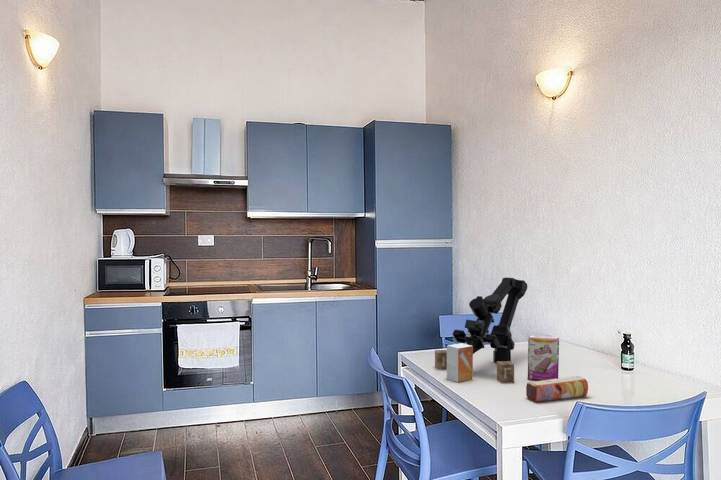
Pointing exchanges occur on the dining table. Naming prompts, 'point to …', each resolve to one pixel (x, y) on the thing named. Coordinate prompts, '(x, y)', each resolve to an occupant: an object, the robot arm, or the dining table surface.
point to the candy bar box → (543, 358)
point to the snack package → (557, 389)
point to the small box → (459, 362)
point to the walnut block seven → (505, 372)
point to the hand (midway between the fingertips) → (467, 356)
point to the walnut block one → (441, 359)
